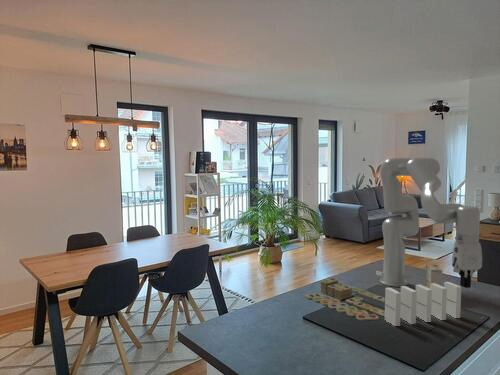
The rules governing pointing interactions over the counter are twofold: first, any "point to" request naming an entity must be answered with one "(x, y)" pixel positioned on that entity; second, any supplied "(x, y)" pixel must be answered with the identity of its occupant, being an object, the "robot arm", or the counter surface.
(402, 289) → the domino
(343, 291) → the pile of dominoes
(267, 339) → the counter surface
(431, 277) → the supplement box
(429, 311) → the domino
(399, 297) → the domino
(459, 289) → the domino
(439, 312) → the domino
